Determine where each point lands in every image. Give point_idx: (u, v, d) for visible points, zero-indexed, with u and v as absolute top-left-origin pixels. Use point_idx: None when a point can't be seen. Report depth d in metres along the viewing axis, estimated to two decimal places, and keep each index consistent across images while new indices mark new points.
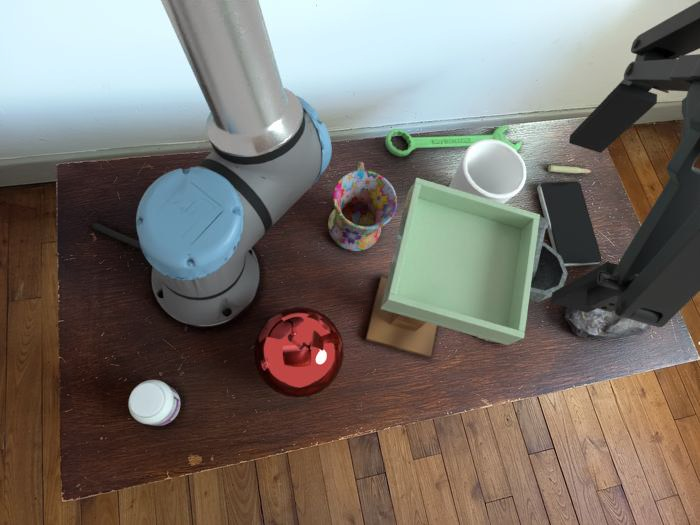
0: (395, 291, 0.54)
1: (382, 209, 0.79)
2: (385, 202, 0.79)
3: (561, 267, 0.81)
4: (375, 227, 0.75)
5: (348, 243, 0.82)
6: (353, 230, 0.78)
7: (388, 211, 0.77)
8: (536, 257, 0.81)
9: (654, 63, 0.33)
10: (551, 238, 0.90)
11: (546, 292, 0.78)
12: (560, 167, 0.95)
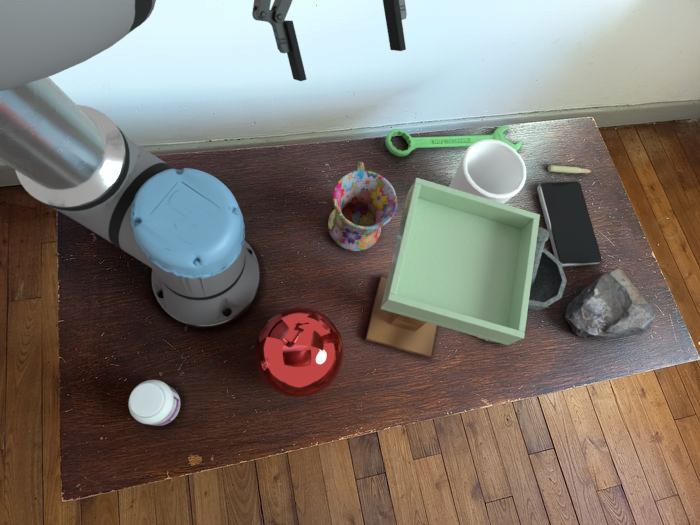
0: (395, 291, 0.54)
1: (382, 209, 0.79)
2: (385, 202, 0.79)
3: (561, 274, 0.81)
4: (375, 227, 0.75)
5: (348, 243, 0.82)
6: (353, 230, 0.78)
7: (388, 211, 0.77)
8: (535, 266, 0.80)
9: None
10: (551, 238, 0.90)
11: (545, 304, 0.79)
12: (560, 167, 0.95)
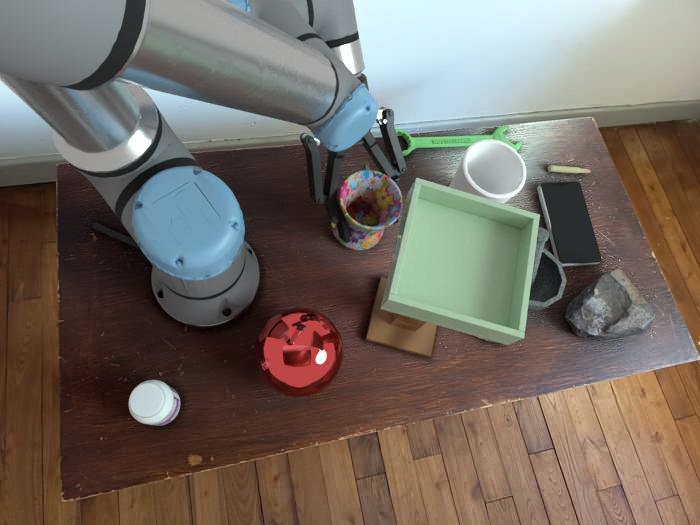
0: (395, 291, 0.54)
1: (386, 209, 0.79)
2: (390, 202, 0.79)
3: (561, 274, 0.81)
4: (381, 227, 0.75)
5: (351, 242, 0.82)
6: (358, 230, 0.78)
7: (393, 211, 0.77)
8: (535, 266, 0.80)
9: (332, 179, 0.75)
10: (551, 238, 0.90)
11: (545, 304, 0.79)
12: (560, 167, 0.95)
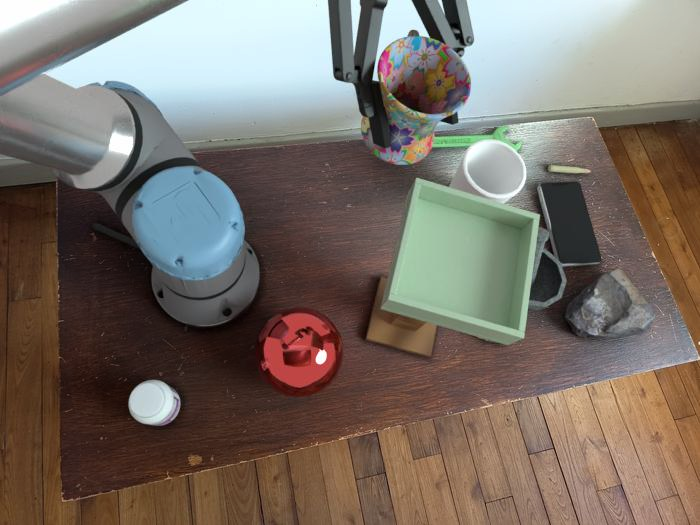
0: (395, 291, 0.54)
1: (444, 99, 0.54)
2: (450, 87, 0.54)
3: (561, 274, 0.81)
4: (441, 115, 0.50)
5: (391, 152, 0.57)
6: (403, 126, 0.53)
7: (457, 97, 0.52)
8: (535, 266, 0.80)
9: (368, 43, 0.50)
10: (551, 238, 0.90)
11: (545, 304, 0.79)
12: (560, 167, 0.95)
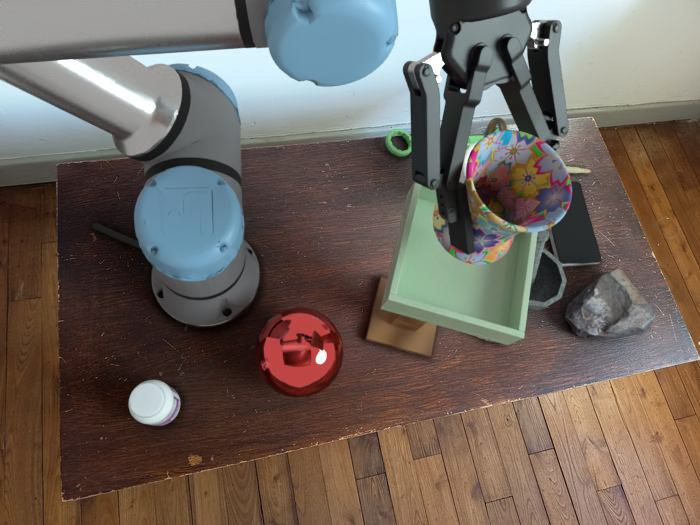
0: (395, 291, 0.54)
1: (535, 198, 0.47)
2: (544, 185, 0.47)
3: (561, 274, 0.81)
4: (542, 228, 0.43)
5: None
6: (491, 232, 0.46)
7: (554, 200, 0.45)
8: (535, 266, 0.80)
9: (457, 145, 0.43)
10: (551, 238, 0.90)
11: (545, 304, 0.79)
12: None
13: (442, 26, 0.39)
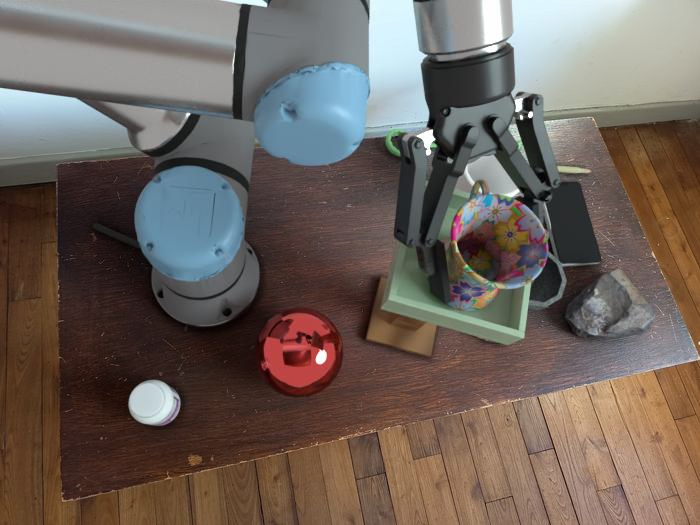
0: (395, 291, 0.54)
1: (517, 252, 0.52)
2: (524, 242, 0.51)
3: (561, 274, 0.81)
4: (520, 285, 0.47)
5: (460, 301, 0.55)
6: (476, 286, 0.51)
7: (533, 257, 0.50)
8: None
9: (438, 208, 0.47)
10: (551, 238, 0.90)
11: (545, 304, 0.79)
12: (560, 167, 0.95)
13: (434, 109, 0.44)
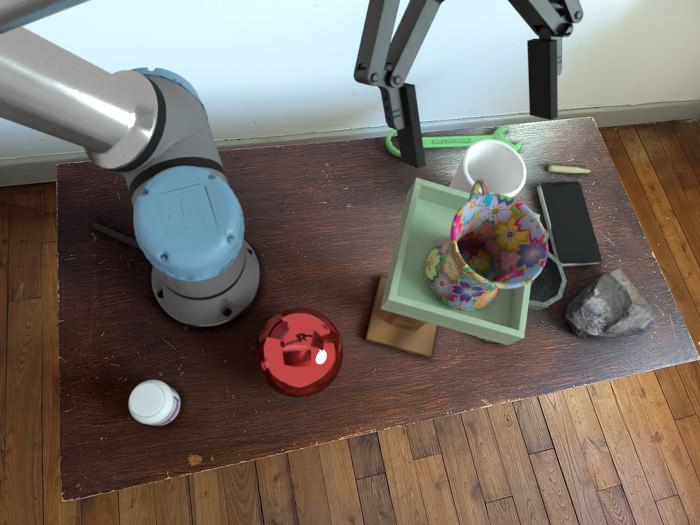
0: (395, 291, 0.54)
1: (517, 252, 0.52)
2: (524, 241, 0.51)
3: (561, 274, 0.81)
4: (520, 284, 0.47)
5: (460, 301, 0.55)
6: (476, 286, 0.51)
7: (533, 256, 0.50)
8: None
9: (412, 37, 0.39)
10: (551, 238, 0.90)
11: (545, 304, 0.79)
12: (560, 167, 0.95)
13: None
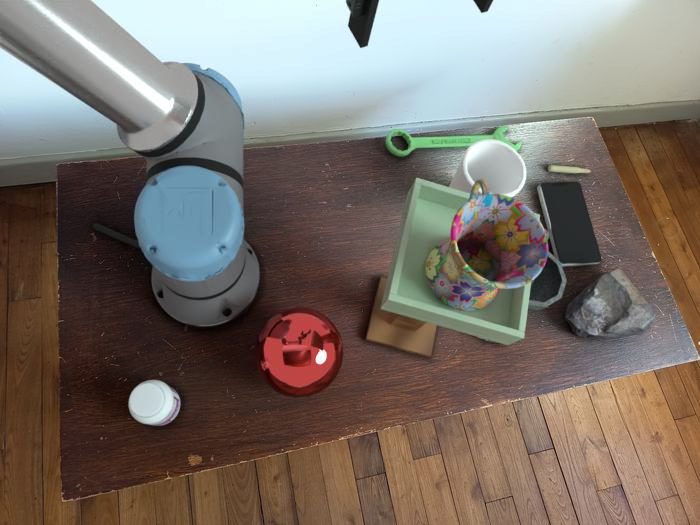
0: (395, 291, 0.54)
1: (517, 252, 0.52)
2: (524, 241, 0.51)
3: (561, 274, 0.81)
4: (520, 284, 0.47)
5: (460, 301, 0.55)
6: (476, 286, 0.51)
7: (533, 256, 0.50)
8: None
9: None
10: (551, 238, 0.90)
11: (545, 304, 0.79)
12: (560, 167, 0.95)
13: None
